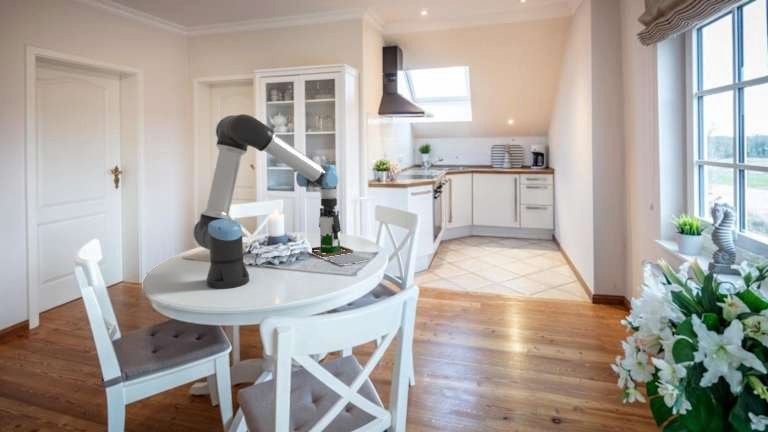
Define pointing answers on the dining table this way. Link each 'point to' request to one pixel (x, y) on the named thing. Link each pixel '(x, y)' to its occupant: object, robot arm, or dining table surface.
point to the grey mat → (347, 258)
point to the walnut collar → (332, 253)
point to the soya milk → (327, 235)
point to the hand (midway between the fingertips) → (329, 244)
